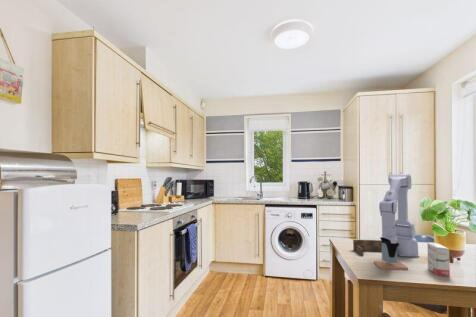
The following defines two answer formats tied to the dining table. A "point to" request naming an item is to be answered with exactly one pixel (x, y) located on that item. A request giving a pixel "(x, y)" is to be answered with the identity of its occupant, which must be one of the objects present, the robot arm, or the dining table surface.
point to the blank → (386, 256)
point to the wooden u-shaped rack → (367, 245)
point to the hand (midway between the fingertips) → (389, 254)
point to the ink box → (438, 259)
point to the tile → (390, 265)
